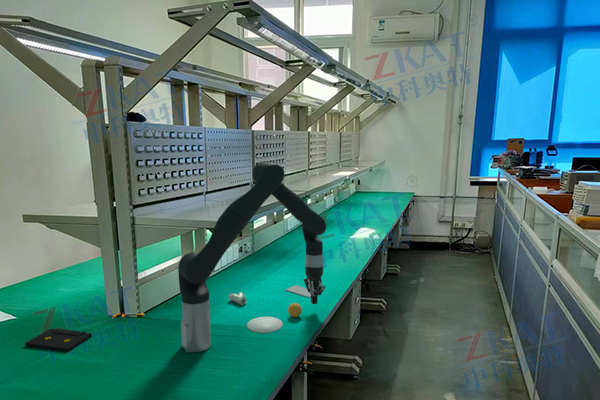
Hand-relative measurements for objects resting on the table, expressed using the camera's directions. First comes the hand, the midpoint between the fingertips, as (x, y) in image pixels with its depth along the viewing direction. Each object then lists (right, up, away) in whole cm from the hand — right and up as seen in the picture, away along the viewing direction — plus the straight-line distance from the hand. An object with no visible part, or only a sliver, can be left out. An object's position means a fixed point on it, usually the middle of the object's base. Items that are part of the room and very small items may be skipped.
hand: (314, 303), depth 173 cm
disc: (-20, -5, -12) cm, 24 cm away
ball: (-8, -1, -5) cm, 10 cm away
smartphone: (-5, -1, +23) cm, 24 cm away
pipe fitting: (-33, -2, +11) cm, 35 cm away
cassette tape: (-93, -8, -26) cm, 97 cm away
